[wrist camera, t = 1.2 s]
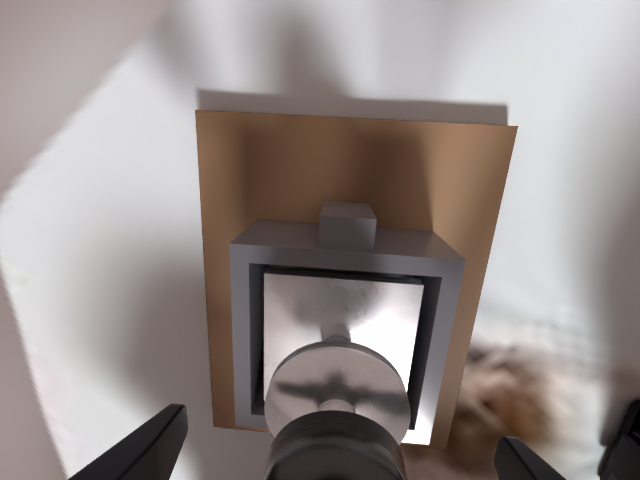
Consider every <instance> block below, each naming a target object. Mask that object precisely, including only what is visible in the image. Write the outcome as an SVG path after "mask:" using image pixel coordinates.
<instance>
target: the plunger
mask: <svg viewBox="0 0 640 480" xmlns="http://www.w3.org/2000/svg"><path fill="white" fill-rule="evenodd" d="M423 288H424V285H423V283H422V282H421V280H420V279H415V278H401V277H388V276H374V275H361V274H347V273H334V272H320V271H307V270H293V269H280V268H267V270H266V271H265V273H264V401H265V406H264V411H265V419H266V423H267V425H268V428H269V430H270V432H271V434H272V436H273V437H274V441H273V443H272V446H271V450H270V454H269V458H268V463H267V467H266V471H265V475H264V480H407V476H406V471H405V466H404V461H403V456H402V452H401V449H400V447H399V445H400V444H401V442H402V441H403V439H404V438H405V436H406V434H407V431H408V429H409V425H410V418H411V410H410V404H409V400H408V396H407V386H408V380H409V373H410V367H411V361H412V355H413V349H414V343H415V337H416V331H417V324H418V318H419V312H420V306H421V300H422V294H423Z"/></svg>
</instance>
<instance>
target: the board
mask: <svg viewBox="0 0 640 480" xmlns="http://www.w3.org/2000/svg"><path fill="white" fill-rule="evenodd" d="M195 115H196V132H197V149H198V166H199V183H200V201H201V218H202V235H203V252H204V269H205V287H206V304H207V321H208V338H209V355H210V373H211V390H212V407H213V424H214V427H221V428H231V429H241V430H251V431H261V432H270V430H269V429H264V428H253V427H243V426H235V400H234V369H233V338H232V307H231V277H230V246H229V243H231V242H232V241H233V240H234V239H235V238H236V237H238V236H239V235H240V234H241V233H242V232H243V231H245V230H246V229H247V228H248V227H249V226H250V225H252V224H253V223H254V222H255V221H256V220H258V219H261V220H276V221H291V222H306V223H319V219H320V213H321V210H322V207H323V204H324V201H334V202H350V203H366V204H369V205H370V207H371V209H372V211H373V213H374V215H375V217H376V219H377V222H376V227H381V228H396V229H411V230H426V231H434V232H435V233H436V234H437V235H438V236H439V237H441V238H442V239H443V240H444V241H445V242H446V243H447V244H448V245H450V246H451V247H452V248H453V249H454V250H455V251H456V252H457V253H458V254H460V255H461V256H462V257H463V258H464V259H465V260H466V263H465V268H464V273H463V278H462V283H461V288H460V293H459V298H458V303H457V308H456V313H455V318H454V323H453V328H452V333H451V337H450V342H449V347H448V352H447V357H446V362H445V367H444V372H443V377H442V382H441V387H440V392H439V397H438V402H437V407H436V412H435V417H434V422H433V427H432V432H431V437H430V442H429V445H426V444H416V443H406V442H401V444H400V445H403V446H413V447H423V448H433V449H443V450H446V448H447V443H448V439H449V434H450V430H451V425H452V421H453V416H454V412H455V407H456V403H457V398H458V394H459V389H460V385H461V380H462V376H463V371H464V367H465V362H466V358H467V353H468V349H469V344H470V340H471V335H472V331H473V326H474V322H475V317H476V313H477V308H478V304H479V299H480V295H481V290H482V286H483V281H484V277H485V272H486V268H487V263H488V259H489V254H490V250H491V245H492V241H493V236H494V232H495V227H496V223H497V218H498V214H499V209H500V205H501V200H502V196H503V191H504V187H505V182H506V178H507V173H508V169H509V164H510V160H511V155H512V151H513V146H514V142H515V137H516V133H517V128H518V126H504V125H484V124H464V123H445V122H425V121H405V120H385V119H365V118H346V117H326V116H306V115H286V114H267V113H247V112H227V111H207V110H195Z"/></svg>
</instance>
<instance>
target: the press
mask: <svg viewBox="0 0 640 480" xmlns="http://www.w3.org/2000/svg"><path fill="white" fill-rule="evenodd" d="M376 222H377V219H376V217H375V215H374V213H373V211H372V209H371V207H370V205H369V204H366V203H350V202H334V201H324V204H323V207H322V210H321V213H320V219H319V223H306V222H291V221H276V220H261V219H258V220H256V221H255V222H254V223H253V224H252V225H250V226H249V227H248V228H247V229H246V230H245V231H243V232H242V233H241V234H240V235H239V236H238V237H236V238H235V239H234V240H233V241H232V242H231V243H229V246H230V277H231V307H232V338H233V369H234V400H235V426H243V427H253V428H264V429H269V428H268V425H267V423H266V419H265V411H264V406H265V401H264V273H265V271H266V270H267V268H280V269H293V270H307V271H320V272H334V273H347V274H361V275H374V276H388V277H401V278H415V279H420V280H421V282H422V283H423V285H424V288H423V294H422V300H421V306H420V312H419V318H418V324H417V331H416V337H415V343H414V349H413V355H412V361H411V367H410V373H409V380H408V386H407V396H408V400H409V404H410V410H411V418H410V425H409V429H408V431H407V434H406V436H405V438H404V439H403V441H402V442H406V443H416V444H426V445H429V442H430V437H431V432H432V427H433V422H434V417H435V412H436V407H437V402H438V397H439V392H440V387H441V382H442V377H443V372H444V367H445V362H446V357H447V352H448V347H449V342H450V337H451V333H452V328H453V323H454V318H455V313H456V308H457V303H458V298H459V293H460V288H461V283H462V278H463V273H464V268H465V263H466V260H465V259H464V258H463V257H462V256H461V255H460V254H458V253H457V252H456V251H455V250H454V249H453V248H452V247H451V246H450V245H448V244H447V243H446V242H445V241H444V240H443V239H442V238H441V237H439V236H438V235H437V234H436V233H435V232H434V231H426V230H411V229H396V228H381V227H376Z"/></svg>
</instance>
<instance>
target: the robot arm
mask: <svg viewBox="0 0 640 480" xmlns="http://www.w3.org/2000/svg"><path fill="white" fill-rule="evenodd" d="M187 431H188V421H187V410H186V406H185V405H181V404H171V405H169V406H167V407H166V408H164V409H163V410H162V411H160V412H159V413H158V414H156V415H155V416H154V417H152V418H151V419H150V420H148V421H147V422H145V423H144V424H143V425H141V426H140V427H139V428H137V429H136V430H135V431H133V432H132V433H130V434H129V435H128V436H126V437H125V438H124V439H122V440H121V441H120V442H118V443H117V444H116V445H114V446H113V447H111V448H110V449H109V450H107V451H106V452H105V453H103V454H102V455H101V456H99V457H98V458H96V459H95V460H94V461H92V462H91V463H90V464H88V465H87V466H86V467H84V468H83V469H82V470H80V471H79V472H77V473H76V474H75V475H73V476H72V477H71V478H69V479H68V480H169V479H170V476H171V474H172V471H173V468H174V466H175V463H176V461H177V458H178V456H179V453H180V450H181V448H182V445H183V443H184V440H185V438H186V435H187ZM494 463H495V468H496V471H497V474H498V477H499V480H566V479H565V478H564V477H563V476H561V475H560V474H559V473H558V472H557V471H556V470H555V469H553V468H552V467H551V466H550V465H549V464H548V463H546V462H545V461H544V460H543V459H542V458H541V457H540V456H538V455H537V454H536V453H535V452H534V451H533V450H532V449H530V448H529V447H528V446H527V445H526V444H525V443H524V442H522V441H521V440H520V439H519V438H517V437H511V436H502V437H501V438H500V439H499V443H498V446H497V450H496V453H495V458H494ZM600 480H640V400H638V401H635V402H634V403H633V404H632V405H631V407H630V409H629V411H628V414H627V416H626V419H625V421H624V423H623V426H622V428H621V430H620V433H619V435H618V437H617V440H616V442H615V444H614V447H613V449H612V451H611V454H610V456H609V459H608V461H607V463H606V466H605V468H604V470H603V473H602V475H601V477H600Z"/></svg>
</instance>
